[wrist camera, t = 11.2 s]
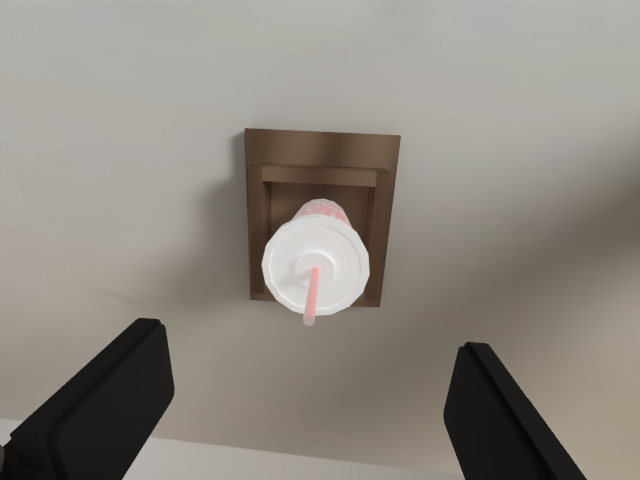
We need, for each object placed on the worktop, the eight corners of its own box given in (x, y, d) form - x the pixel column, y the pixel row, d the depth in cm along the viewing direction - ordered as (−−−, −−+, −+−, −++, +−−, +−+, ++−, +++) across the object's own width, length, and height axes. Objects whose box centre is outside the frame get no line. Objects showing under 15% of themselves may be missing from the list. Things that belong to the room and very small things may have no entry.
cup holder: (397, 135, 24) (411, 135, 20) (377, 300, 29) (385, 328, 25) (248, 128, 24) (231, 126, 20) (253, 293, 29) (240, 319, 25)
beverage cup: (365, 247, 26) (400, 363, 13) (298, 266, 27) (265, 393, 13) (346, 179, 24) (362, 230, 11) (274, 201, 25) (209, 274, 12)
